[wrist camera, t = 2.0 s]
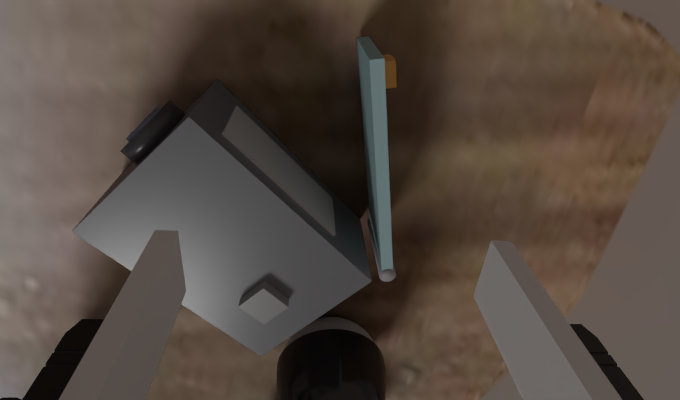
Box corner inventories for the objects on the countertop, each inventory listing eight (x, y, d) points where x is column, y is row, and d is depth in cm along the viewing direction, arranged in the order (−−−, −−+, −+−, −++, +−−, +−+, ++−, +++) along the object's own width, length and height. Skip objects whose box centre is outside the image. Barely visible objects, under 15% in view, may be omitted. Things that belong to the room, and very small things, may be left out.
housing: (105, 160, 32) (41, 224, 24) (202, 61, 29) (164, 98, 21) (269, 285, 39) (259, 365, 32) (361, 217, 36) (375, 287, 28)
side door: (353, 38, 28) (365, 60, 22) (383, 34, 28) (403, 56, 22) (368, 228, 36) (379, 282, 30) (390, 225, 36) (407, 279, 30)
